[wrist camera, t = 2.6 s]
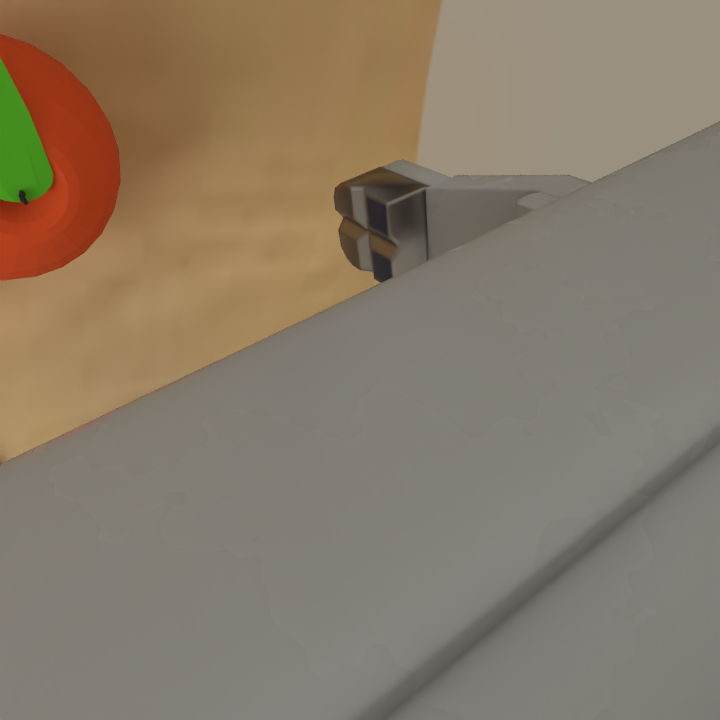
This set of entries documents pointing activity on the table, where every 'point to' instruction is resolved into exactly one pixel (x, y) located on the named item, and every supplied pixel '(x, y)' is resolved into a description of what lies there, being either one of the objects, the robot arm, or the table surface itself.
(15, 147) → the clementine
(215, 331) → the table surface
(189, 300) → the table surface
